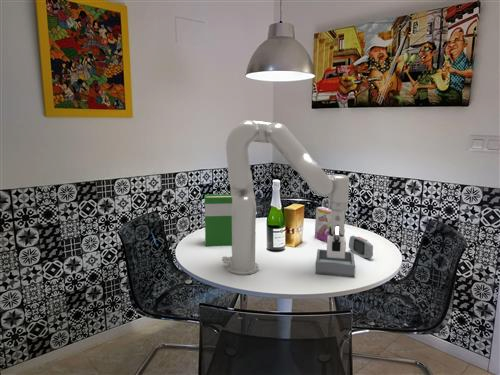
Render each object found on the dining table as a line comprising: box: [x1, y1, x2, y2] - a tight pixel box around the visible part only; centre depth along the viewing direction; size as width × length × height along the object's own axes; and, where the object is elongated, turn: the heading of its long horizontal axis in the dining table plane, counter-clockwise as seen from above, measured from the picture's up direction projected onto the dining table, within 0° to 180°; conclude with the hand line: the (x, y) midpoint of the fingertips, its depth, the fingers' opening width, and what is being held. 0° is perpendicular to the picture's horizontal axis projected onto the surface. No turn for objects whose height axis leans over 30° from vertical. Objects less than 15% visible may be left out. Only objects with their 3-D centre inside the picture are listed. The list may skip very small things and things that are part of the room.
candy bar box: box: [314, 206, 331, 243], centre depth 185 cm, size 11×5×16 cm, turn 34°
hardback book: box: [204, 193, 232, 247], centre depth 179 cm, size 18×7×24 cm, turn 97°
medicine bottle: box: [326, 226, 347, 259], centre depth 150 cm, size 7×7×12 cm
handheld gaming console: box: [348, 235, 374, 259], centre depth 166 cm, size 14×3×8 cm, turn 24°
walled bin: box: [315, 248, 356, 279], centre depth 151 cm, size 15×15×5 cm
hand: (335, 247), depth 150 cm, fingers closed on medicine bottle, 7 cm apart
